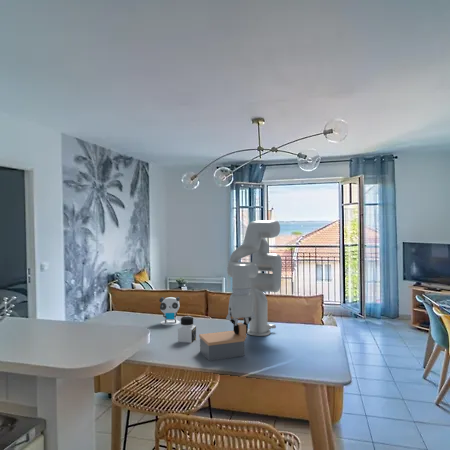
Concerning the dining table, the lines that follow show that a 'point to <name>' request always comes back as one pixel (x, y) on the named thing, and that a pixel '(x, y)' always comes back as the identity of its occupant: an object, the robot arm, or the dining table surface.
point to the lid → (225, 336)
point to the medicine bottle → (187, 330)
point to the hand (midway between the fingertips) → (240, 332)
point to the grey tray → (222, 350)
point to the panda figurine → (170, 310)
